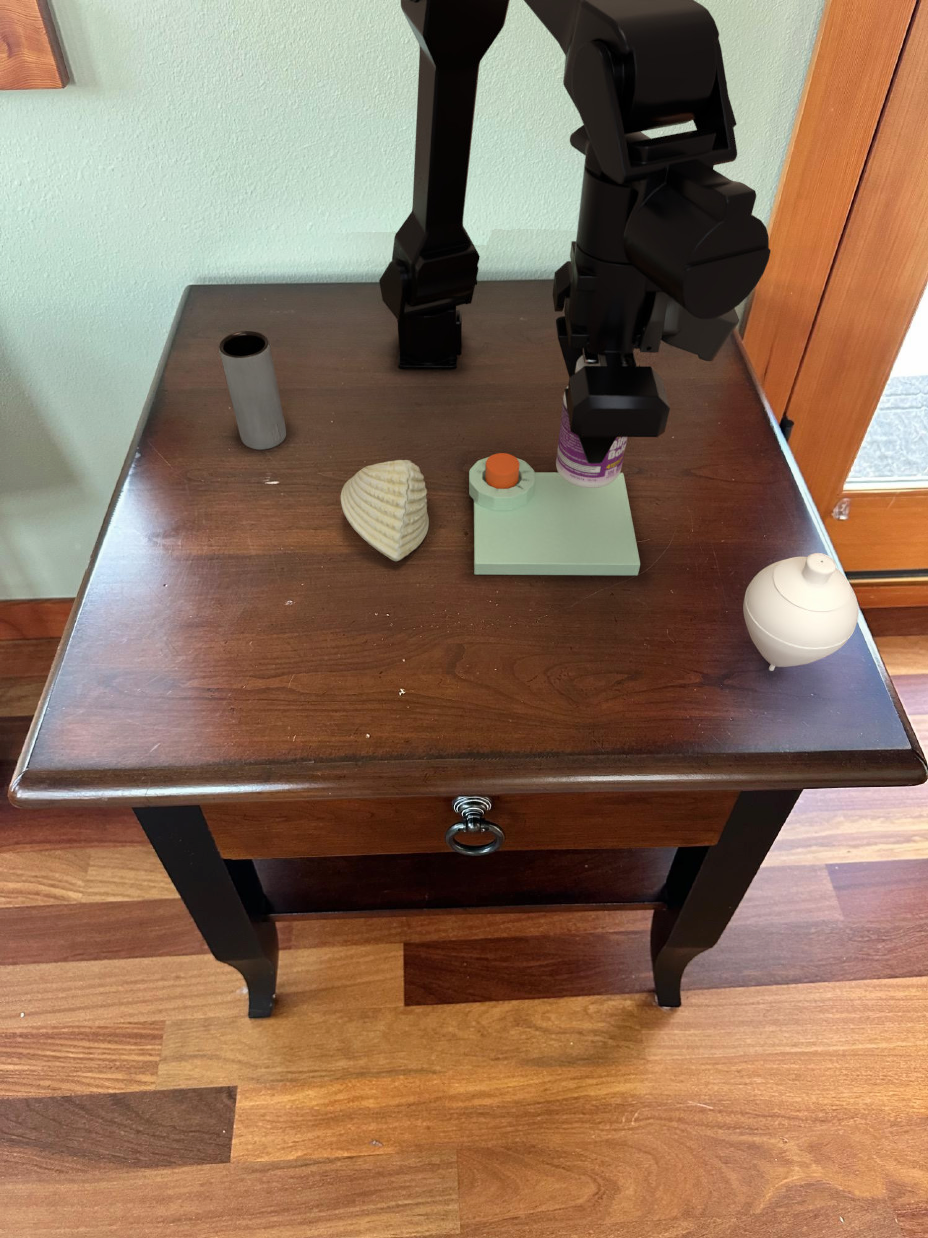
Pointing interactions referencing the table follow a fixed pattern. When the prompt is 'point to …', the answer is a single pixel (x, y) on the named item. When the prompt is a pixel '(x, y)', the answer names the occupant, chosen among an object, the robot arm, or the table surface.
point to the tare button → (502, 471)
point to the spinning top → (800, 610)
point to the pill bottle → (573, 457)
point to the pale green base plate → (551, 526)
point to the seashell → (388, 507)
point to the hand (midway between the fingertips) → (590, 439)
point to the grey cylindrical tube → (253, 389)
